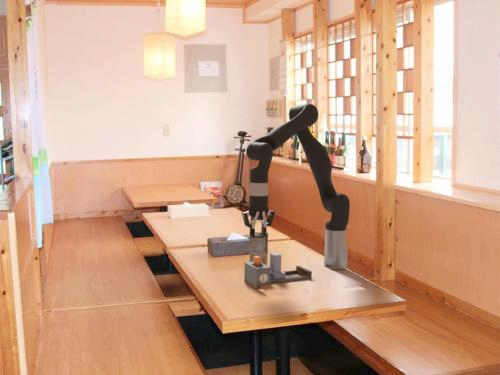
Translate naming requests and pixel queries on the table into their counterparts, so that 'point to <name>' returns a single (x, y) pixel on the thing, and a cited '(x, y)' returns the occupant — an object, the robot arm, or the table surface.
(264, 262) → the coffee box
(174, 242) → the table surface
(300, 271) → the rail bed
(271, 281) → the guide rails
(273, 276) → the carriage
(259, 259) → the button
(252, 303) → the table surface
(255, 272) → the cabinet
